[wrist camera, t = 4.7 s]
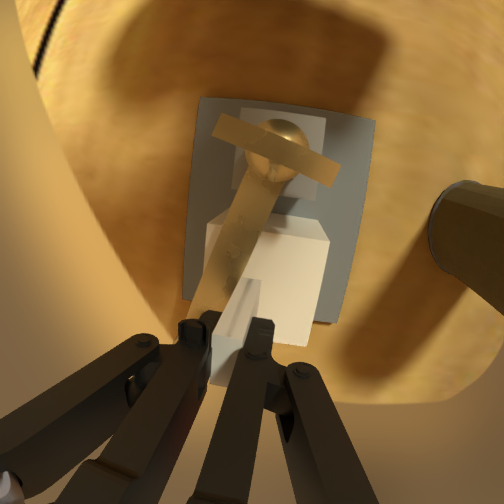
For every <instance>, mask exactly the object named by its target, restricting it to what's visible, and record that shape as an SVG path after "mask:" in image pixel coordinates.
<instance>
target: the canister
mask: <svg viewBox="0 0 504 504" xmlns="http://www.w3.org/2000/svg"><path fill="white" fill-rule="evenodd" d="M428 235H429V244H430V249H431V254H432V255H433V257H434V259H435V261H436V263H437V264H438V266H439V267H440V268H441V269H442V270H444V271H445V272H447V273H448V274H451V275H454V276H455V277H456V278H458V279H459V280H460V281H462V282H463V283H464V284H466V285H467V286H468V287H469V288H471V289H472V290H473V291H474V292H476V293H477V294H478V295H479V296H481V297H482V298H483V299H484V300H486V301H487V302H488V303H489V304H490V305H492V306H493V307H494V308H495V309H496V310H497V311H499V312H500V313H501V314H502V315H503V316H504V188H499V187H493V186H487V185H481V184H480V183H478V182H475V181H471V180H464V181H460V182H457V183H455V184H452V185H451V186H449V187H448V188H447V189H446V190H444V192H443V193H442V194H441V196H440V197H439V198H438V200H437V201H436V203H435V205H434V208H433V211H432V213H431V217H430V221H429V226H428Z"/></svg>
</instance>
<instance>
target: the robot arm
mask: <svg viewBox="0 0 504 504" xmlns="http://www.w3.org/2000/svg"><path fill="white" fill-rule="evenodd" d="M261 281H262V280H257V279H251V278H244V277H241V278H240V280H239V282H238V284H237V286H236V288H235V289H234V291H233V293H232V295H231V297H230V299H229V301H228V303H227V305H226V307H225V309H224V311H223V312H219V311H213V310H207V311H206V312H204V313H202V315H201V316H200V318H199V319H193V318H192V319H185V320H182V321H181V322H179V323H178V341H177V343H176V344H169V345H168V344H159V340H158V338H157V337H155V336H154V335H151V334H146V333H141V334H136V335H134V336H132V337H130V338H129V339H127V340H125V341H124V342H122V343H121V344H119V345H118V346H116V347H114V348H113V349H111V350H110V351H108V352H107V353H105V354H103V355H102V356H100V357H99V358H97V359H96V360H94V361H93V362H91V363H89V364H88V365H86V366H85V367H83V368H81V369H80V370H78V371H77V372H75V373H73V374H72V375H70V376H69V377H67V378H65V379H64V380H62V381H61V382H60V383H57V384H56V385H54V386H53V387H51V388H50V389H48V390H46V391H45V392H43V393H42V394H40V395H38V396H37V397H35V398H34V399H32V400H31V401H29V402H27V403H26V404H24V405H23V406H21V407H19V408H18V409H16V410H14V411H13V412H11V413H10V414H8V415H6V416H5V417H3V418H2V419H0V504H25V503H24V500H25V499H28V498H31V497H33V496H35V495H37V494H40V493H42V492H43V491H45V490H46V489H47V488H49V487H50V486H52V485H53V484H54V483H55V482H57V481H58V480H59V479H60V478H62V477H63V476H64V475H65V474H67V473H68V472H69V471H70V470H71V469H73V468H74V467H75V466H76V465H78V464H79V463H80V462H81V461H82V460H84V459H85V458H86V457H87V456H88V455H90V454H91V453H92V452H93V451H94V450H95V449H97V448H98V447H99V446H100V445H101V444H103V443H104V442H105V441H106V440H107V439H108V438H110V437H111V436H112V435H113V434H114V435H113V436H112V438H111V439H110V441H109V442H108V444H107V445H106V447H105V448H104V450H103V451H102V453H101V455H100V456H99V457H98V458H97V459H95V460H91V459H88V460H86V461H84V462H83V463H82V464H81V465H80V466H79V468H78V469H77V471H76V472H75V474H74V475H73V476H72V478H71V479H70V481H69V482H68V484H67V485H66V487H65V488H64V489H63V491H62V492H61V494H60V495H59V497H58V498H57V500H56V501H55V502H53V503H49V504H158V502H159V500H160V498H161V496H162V493H163V491H164V489H165V486H166V484H167V482H168V480H169V477H170V475H171V473H172V471H173V468H174V466H175V464H176V461H177V459H178V457H179V455H180V452H181V450H182V448H183V445H184V443H185V441H186V438H187V436H188V434H189V431H190V429H191V427H192V425H193V422H194V420H195V418H196V415H197V413H198V410H199V408H200V406H201V404H202V401H203V399H204V396H205V394H206V392H207V382H208V380H209V377H210V384H213V385H218V386H222V387H228V388H227V391H226V394H225V397H224V401H223V404H222V407H221V411H220V413H219V416H218V420H217V423H216V426H215V429H214V432H213V436H212V439H211V442H210V445H209V448H208V451H207V454H206V457H205V460H204V463H203V466H202V469H201V473H200V475H199V479H198V482H197V485H196V488H195V491H194V493H193V495H192V496H191V497H189V499H188V501H187V503H186V504H247V502H248V497H249V491H250V486H251V480H252V474H253V469H254V463H255V457H256V451H257V445H258V439H259V433H260V427H261V420H262V413H263V408H264V409H267V410H269V411H272V412H274V413H276V421H277V425H278V429H279V433H280V437H281V442H282V446H283V450H284V454H285V458H286V462H287V467H288V471H289V475H290V479H291V483H292V486H293V491H294V494H295V498H296V503H297V504H379V502H378V500H377V498H376V496H375V494H374V491H373V489H372V487H371V485H370V482H369V480H368V478H367V476H366V473H365V471H364V469H363V467H362V465H361V462H360V460H359V458H358V456H357V454H356V451H355V449H354V447H353V445H352V443H351V441H350V438H349V436H348V434H347V432H346V429H345V427H344V425H343V423H342V421H341V419H340V417H339V414H338V412H337V410H336V408H335V406H334V403H333V401H332V399H331V397H330V395H329V393H328V390H327V388H326V386H325V384H324V382H323V380H322V377H321V375H320V373H319V371H318V370H317V369H316V367H314V366H313V365H311V364H308V363H305V362H295V363H292V364H290V365H288V366H287V367H285V366H283V365H280V364H278V363H277V362H276V361H274V359H273V358H272V356H271V350H272V344H273V337H274V330H275V324H274V322H273V321H272V320H271V319H265V318H258V317H257V312H258V304H259V297H260V289H261ZM132 375H133V377H132V378H131V379H129V378H130V377H131V376H132Z"/></svg>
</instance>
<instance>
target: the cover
mask: <svg viewBox="0 0 504 504" xmlns="http://www.w3.org/2000/svg"><path fill="white" fill-rule="evenodd" d="M229 210H230V207H229V208H228V209H227V210H225V211H224V212H222V213H221V214H220V215H218V216H217V217H215V218H214V219H213V220H211V221H210V222H208V223H207V230H206V242H205V254H204V267H203V273H204V270H205V268H206V265H207V263H208V260H209V258H210V255H211V253H212V250H213V248H214V245H215V243H216V241H217V238H218V236H219V233H220V231H221V229H222V226H223V224H224V221H225V219H226V217H227V214H228V212H229ZM329 245H330V241H329V239H328V237H327V235H326V234H325V232H324V230H323V228H322V227H321V225H320V223H319V221H318V220H314V219H308V218H302V217H295V216H289V215H282V214H275V213H270V215H269V217H268V219H267V222H266V224H265V226H264V228H263V230H262V232H261V235H260V237H259V239H258V241H257V243H256V245H255V248H254V250H253V252H252V254H251V256H250V259H249V261H248V263H247V265H246V267H245V269H244V272H243V274H242V276H241V277H244V278H251V279H257V280H262V281H261V289H260V297H259V304H258V312H257V317H258V318H265V319H271V320H272V321H273V322H274V324H275V330H274V337H273V342H276V343H284V344H291V345H298V346H306V347H307V343H308V339H309V335H310V331H311V327H312V323H313V319H314V314H315V310H316V306H317V302H318V297H319V293H320V288H321V284H322V279H323V274H324V270H325V265H326V260H327V255H328V250H329Z"/></svg>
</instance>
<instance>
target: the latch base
mask: <svg viewBox="0 0 504 504" xmlns="http://www.w3.org/2000/svg"><path fill="white" fill-rule="evenodd" d="M221 113H224V114H227V115H230V116H232V117H235V118H237V119H240V120H243V121H245V122H248V123H250V124H253V125H255V126H257V125H258V124H260V123H262V122H264V121H266V120H270V119H283V120H287V121H290V122H292V123H294V124H295V125H297V126H298V127H299V128H300V129H301V130H302V131H303V132H304V134H305V135H306V137H307V140H308V143H309V149H310V150H312V151H314V152H316V153H318V154H320V155H322V156H324V157H327V158H329V159H331V160H333V161H335V162H336V163H338V164H340V165H341V168H340V170H339V172H338V174H337V176H336V178H335V180H334V183H333V185H332V187H331V188H329V187H327V186H325V185H323V184H321V183H319V182H317V181H315V180H313V179H311V178H308V177H306V176H304V175H302V174H300V173H299V174H298V175H297V176H295V177H294V178H292V179H290V180H287V181H285V182H284V185H283V187H282V189H281V191H280V193H279V196H278V198H277V200H276V202H275V204H274V206H273V209H272V211H271V213H275V214H282V215H289V216H295V217H302V218H308V219H314V220H318V221H319V223H320V225H321V227H322V228H323V230H324V232H325V234H326V235H327V237H328V239H329V241H330V245H329V250H328V255H327V260H326V265H325V270H324V274H323V279H322V284H321V288H320V293H319V297H318V302H317V306H316V310H315V314H314V319H313V321H321V322H329V323H337V322H338V318H339V314H340V311H341V307H342V303H343V299H344V295H345V291H346V287H347V283H348V279H349V275H350V271H351V266H352V262H353V257H354V253H355V248H356V243H357V239H358V234H359V229H360V223H361V218H362V213H363V207H364V201H365V195H366V189H367V183H368V177H369V170H370V163H371V155H372V147H373V139H374V130H375V120H371V119H367V118H363V117H358V116H354V115H349V114H344V113H340V112H334V111H329V110H324V109H318V108H312V107H305V106H299V105H292V104H284V103H276V102H267V101H258V100H246V99H233V98H215V97H200V101H199V108H198V115H197V123H196V131H195V139H194V147H193V156H192V165H191V175H190V185H189V196H188V208H187V220H186V235H185V251H184V270H183V295H182V299H184V300H189V301H192V300H193V298H194V295H195V293H196V290H197V288H198V285H199V283H200V280H201V278H202V275H203V267H204V254H205V242H206V230H207V223H208V222H210V221H211V220H213V219H214V218H215V217H217V216H218V215H220V214H221V213H222V212H224V211H225V210H227V209H228V208H229V207H231V205H232V202H233V200H234V198H235V195H236V193H237V191H238V189H239V186H240V184H241V182H242V179H243V177H244V175H245V173H246V170H247V168H248V166H249V165H248V163H247V160H246V157H245V149H243V148H241V147H239V146H236V145H234V144H231V143H229V142H226V141H224V140H221V139H219V138H216V137H214V136H211V135H212V133H213V131H214V128H215V126H216V124H217V122H218V119H219V117H220V115H221Z"/></svg>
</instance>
